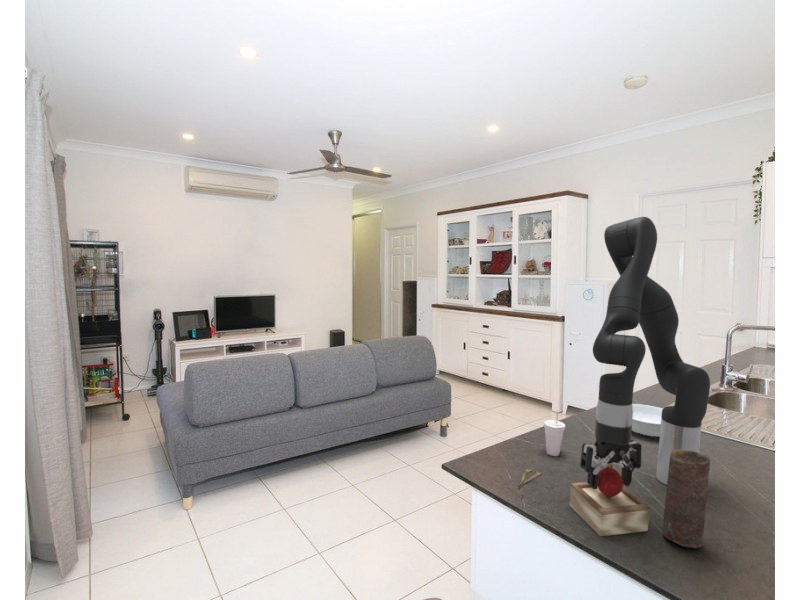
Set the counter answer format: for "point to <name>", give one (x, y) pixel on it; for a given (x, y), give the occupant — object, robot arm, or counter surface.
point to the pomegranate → (609, 481)
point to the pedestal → (609, 510)
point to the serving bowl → (646, 419)
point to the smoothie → (554, 435)
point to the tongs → (528, 479)
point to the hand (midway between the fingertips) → (609, 485)
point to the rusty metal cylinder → (686, 497)
